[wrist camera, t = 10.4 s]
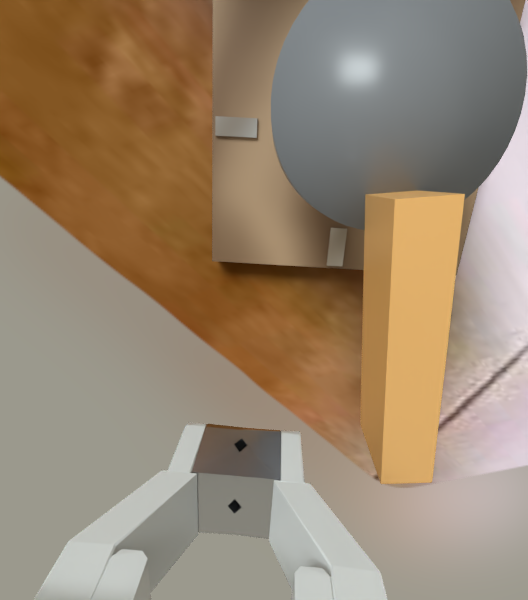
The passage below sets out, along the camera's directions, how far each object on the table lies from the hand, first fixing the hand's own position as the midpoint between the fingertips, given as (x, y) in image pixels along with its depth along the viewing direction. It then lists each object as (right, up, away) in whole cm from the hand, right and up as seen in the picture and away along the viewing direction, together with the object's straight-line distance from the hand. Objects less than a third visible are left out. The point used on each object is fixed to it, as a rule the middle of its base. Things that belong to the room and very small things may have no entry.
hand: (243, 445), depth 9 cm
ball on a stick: (+6, +7, +8) cm, 12 cm away
